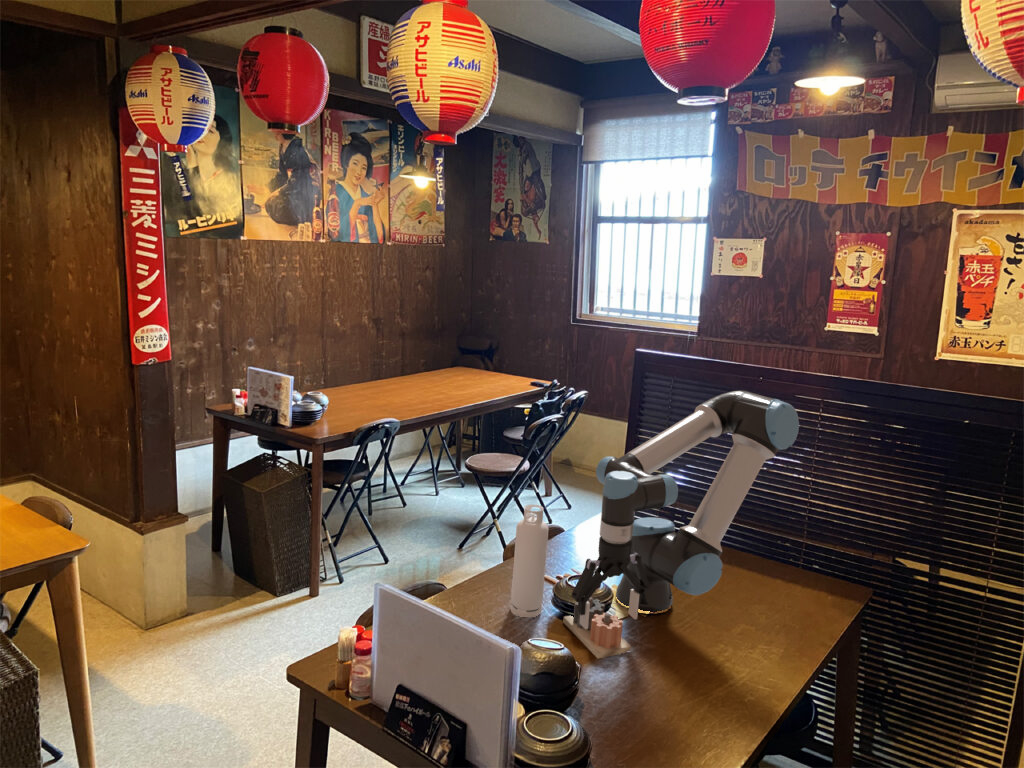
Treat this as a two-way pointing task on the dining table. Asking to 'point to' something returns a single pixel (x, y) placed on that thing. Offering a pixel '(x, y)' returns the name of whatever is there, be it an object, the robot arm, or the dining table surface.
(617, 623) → the gear
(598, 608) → the gear board
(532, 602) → the bottle
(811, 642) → the dining table surface
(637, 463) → the robot arm
